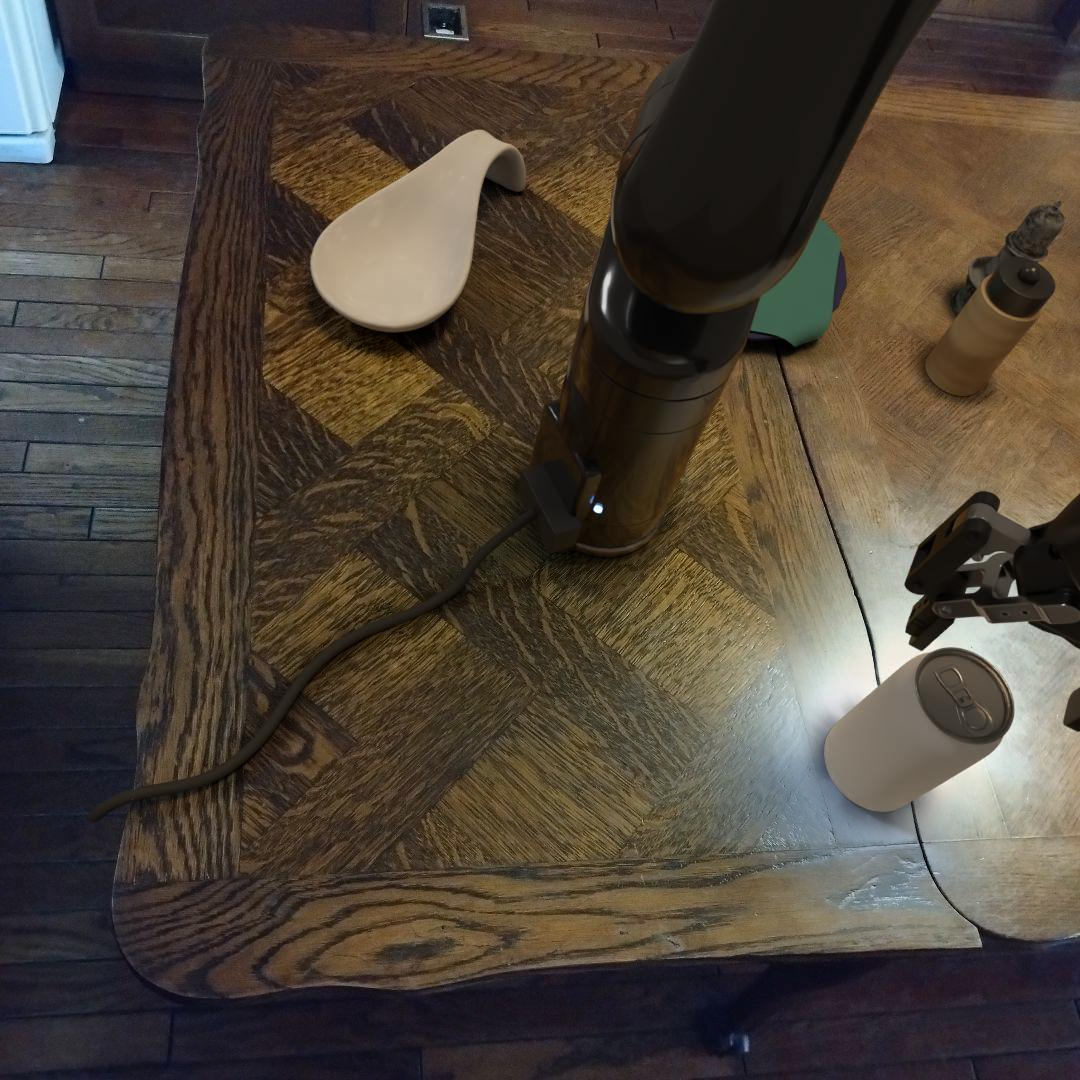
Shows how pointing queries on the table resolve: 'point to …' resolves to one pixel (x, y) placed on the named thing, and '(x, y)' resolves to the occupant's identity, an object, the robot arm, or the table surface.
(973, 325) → the pepper mill
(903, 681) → the can
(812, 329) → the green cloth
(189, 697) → the table surface
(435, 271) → the spoon rest
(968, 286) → the ornate chess piece
